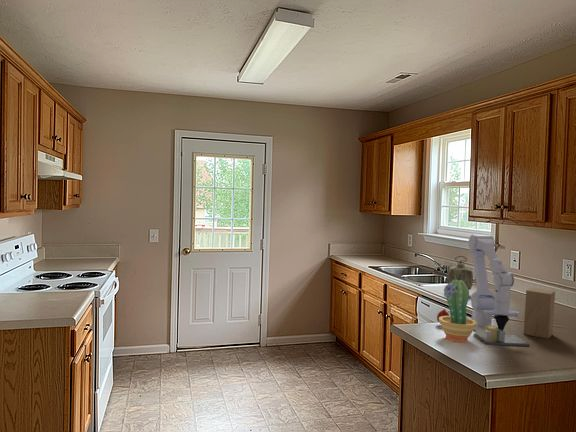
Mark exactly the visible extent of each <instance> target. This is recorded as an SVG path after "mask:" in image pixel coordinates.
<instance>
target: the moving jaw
mask: <svg viewBox="0 0 576 432" xmlns="http://www.w3.org/2000/svg"><path fill="white" fill-rule="evenodd" d="M493 326H494V327H496V328H498V326H496V325H493ZM505 335H506V332H505V331H504V330H503V331H502V330H501V329H499V328H498V341H501V342H504V339H505Z"/></svg>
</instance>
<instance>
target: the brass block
mask: <svg viewBox="0 0 576 432" xmlns="http://www.w3.org/2000/svg"><path fill="white" fill-rule="evenodd" d="M494 326H495V325H494ZM494 326H493V325H484V326H483V327H484V328H486V329H488V330H489V331H491V332H492V336H491V341H498V327H497V326H495V327H494ZM496 327H497V328H496Z"/></svg>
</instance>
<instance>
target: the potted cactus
mask: <svg viewBox="0 0 576 432" xmlns="http://www.w3.org/2000/svg"><path fill="white" fill-rule="evenodd" d="M443 293H444V295H443V296H444V297H445V299H446V301H447V303H448V308H449V315H450V316H442V317H439V322H438V323H439V324H440V323H441V324H440V325H441V329H442V332H443V333H444V335H445V339H446V338H447V339H446V340H448V339H449V340H448V341H451V340H452V341H451V342H455V341H456V343H467V342H468V340H469V339H468V338H469V337H470V336H471V335H472V333H473V331H474V328H475V327H476V325H477V322H476V321H474V320H472V318H468V317H467V305H468V303H469V296H470V290H468V287H467V286H466V285H465V283H464V282H463V281H462V280H460V281H458V280H455V281H454V280H452V282H451V283H449V284H446V285H445V286H444V289H443Z"/></svg>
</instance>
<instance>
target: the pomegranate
mask: <svg viewBox="0 0 576 432" xmlns="http://www.w3.org/2000/svg"><path fill="white" fill-rule="evenodd" d="M442 316H451V315H450V313H449V312H447V311H446V309H445V308H443V309H442V310H441V311H439V312H438V313H437V316H436V318H437V322H438V323H439V317H442ZM439 324H440V325H441V323H439Z"/></svg>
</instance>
